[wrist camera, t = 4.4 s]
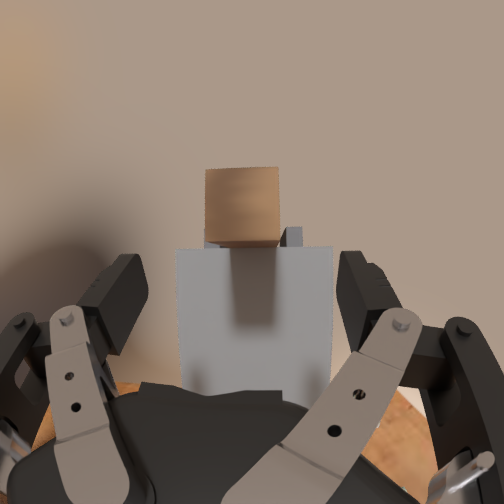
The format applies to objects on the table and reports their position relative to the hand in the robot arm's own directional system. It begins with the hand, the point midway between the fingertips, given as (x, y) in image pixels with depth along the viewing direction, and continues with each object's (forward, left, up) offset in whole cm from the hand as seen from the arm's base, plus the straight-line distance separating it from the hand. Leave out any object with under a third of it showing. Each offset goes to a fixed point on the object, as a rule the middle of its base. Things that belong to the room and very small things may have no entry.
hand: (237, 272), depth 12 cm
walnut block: (0, +14, +1) cm, 14 cm away
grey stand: (0, +19, -31) cm, 36 cm away
